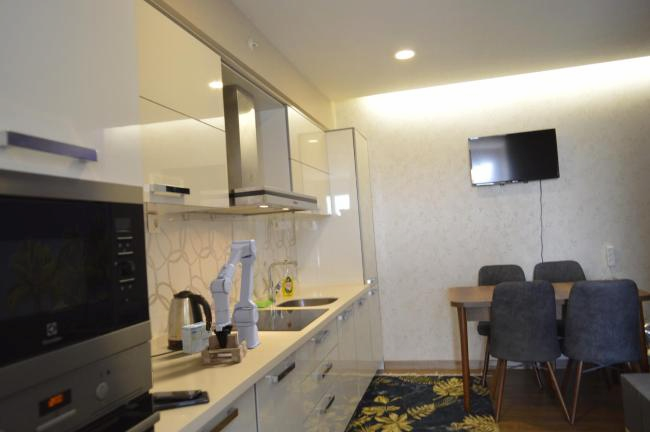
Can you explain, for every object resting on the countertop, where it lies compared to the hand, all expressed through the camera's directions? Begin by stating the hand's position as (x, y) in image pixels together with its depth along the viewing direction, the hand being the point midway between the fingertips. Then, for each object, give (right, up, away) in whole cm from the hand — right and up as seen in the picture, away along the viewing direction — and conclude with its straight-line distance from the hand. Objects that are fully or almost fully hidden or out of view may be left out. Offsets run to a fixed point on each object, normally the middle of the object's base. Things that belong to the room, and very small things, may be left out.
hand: (224, 346), depth 178 cm
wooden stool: (0, -5, 0) cm, 5 cm away
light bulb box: (-15, -7, +17) cm, 23 cm away
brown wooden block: (0, -2, 0) cm, 2 cm away
